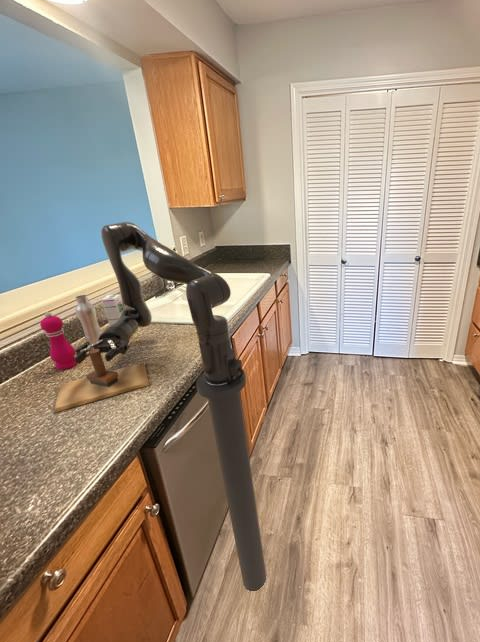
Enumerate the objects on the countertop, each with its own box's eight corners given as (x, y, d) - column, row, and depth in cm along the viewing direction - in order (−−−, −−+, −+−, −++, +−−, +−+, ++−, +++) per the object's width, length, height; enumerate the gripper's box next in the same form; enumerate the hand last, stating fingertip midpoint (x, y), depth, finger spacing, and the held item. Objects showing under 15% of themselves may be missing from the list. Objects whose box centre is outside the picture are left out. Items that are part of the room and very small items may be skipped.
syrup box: (124, 329, 141) (115, 298, 135) (110, 330, 141) (100, 299, 135) (129, 324, 146) (121, 293, 140) (116, 325, 146) (107, 294, 140)
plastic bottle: (87, 349, 124) (70, 300, 117) (87, 343, 130) (71, 296, 122) (106, 344, 127) (91, 296, 120) (105, 338, 133) (90, 292, 125)
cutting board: (144, 365, 111) (144, 362, 111) (149, 385, 100) (148, 381, 99) (61, 387, 101) (60, 384, 100) (55, 412, 89) (54, 408, 89)
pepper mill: (82, 358, 118) (64, 307, 110) (73, 369, 111) (53, 315, 103) (61, 361, 117) (41, 309, 109) (50, 371, 110) (28, 317, 102)
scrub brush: (119, 380, 101) (110, 349, 96) (108, 387, 97) (98, 355, 93) (100, 376, 103) (90, 346, 99) (89, 384, 100) (77, 352, 95)
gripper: (92, 327, 107) (62, 350, 92) (135, 324, 108) (113, 346, 93) (98, 347, 110) (71, 372, 95) (141, 344, 111) (120, 368, 96)
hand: (92, 359), depth 94 cm, fingers open, 8 cm apart
